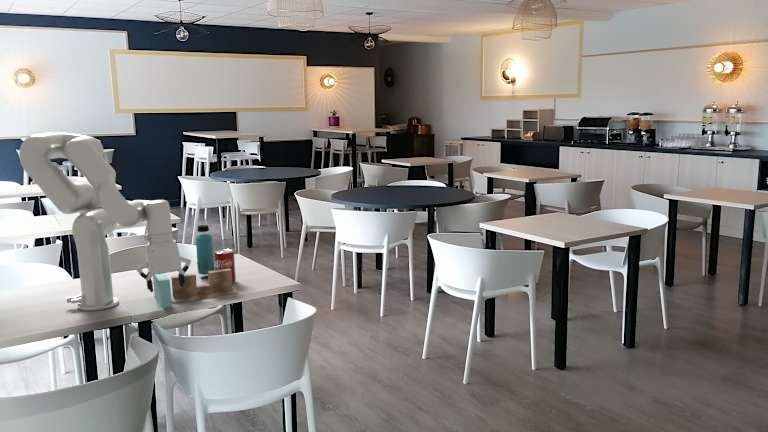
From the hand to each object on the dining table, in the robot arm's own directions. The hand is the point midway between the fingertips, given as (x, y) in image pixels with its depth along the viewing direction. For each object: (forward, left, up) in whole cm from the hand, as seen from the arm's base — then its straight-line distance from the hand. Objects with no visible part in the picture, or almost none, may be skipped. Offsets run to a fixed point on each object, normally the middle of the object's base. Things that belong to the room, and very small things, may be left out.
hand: (166, 288), depth 219 cm
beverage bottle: (+20, +29, -6) cm, 36 cm away
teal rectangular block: (-1, +4, -6) cm, 7 cm away
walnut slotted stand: (+13, +4, -6) cm, 15 cm away
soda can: (+24, +16, -6) cm, 29 cm away
